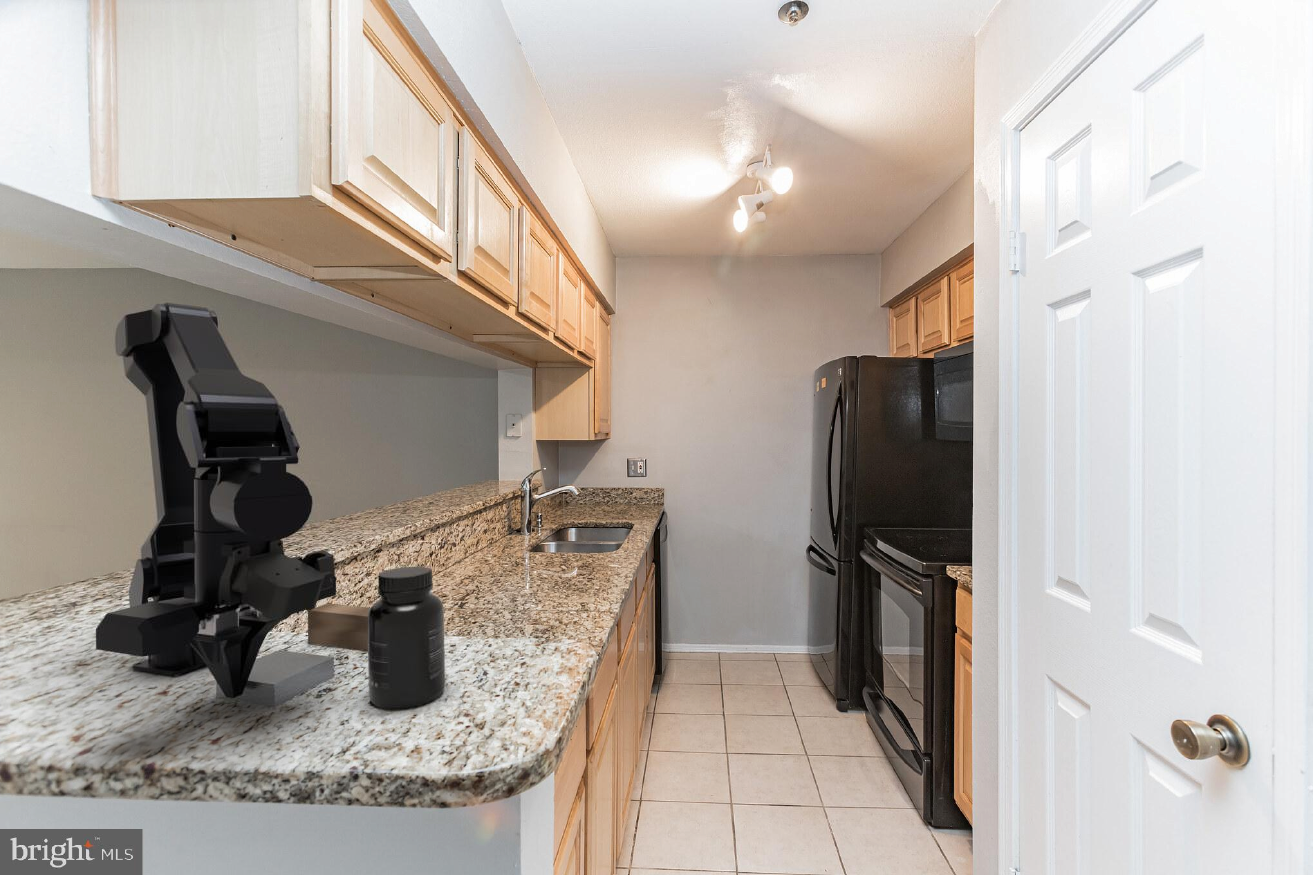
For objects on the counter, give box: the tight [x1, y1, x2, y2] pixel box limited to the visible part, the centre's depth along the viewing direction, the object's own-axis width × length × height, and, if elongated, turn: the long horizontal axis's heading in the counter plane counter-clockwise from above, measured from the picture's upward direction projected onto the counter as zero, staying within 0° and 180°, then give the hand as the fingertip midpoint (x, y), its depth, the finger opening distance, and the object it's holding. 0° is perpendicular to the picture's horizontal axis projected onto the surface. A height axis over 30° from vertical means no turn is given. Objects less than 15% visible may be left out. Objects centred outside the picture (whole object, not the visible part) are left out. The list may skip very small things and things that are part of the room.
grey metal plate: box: [215, 649, 335, 708], centre depth 60 cm, size 7×7×2 cm
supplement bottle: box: [367, 566, 446, 710], centre depth 58 cm, size 7×7×12 cm
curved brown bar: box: [307, 603, 371, 652], centre depth 72 cm, size 14×3×4 cm, turn 74°
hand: (234, 696), depth 56 cm, fingers closed
